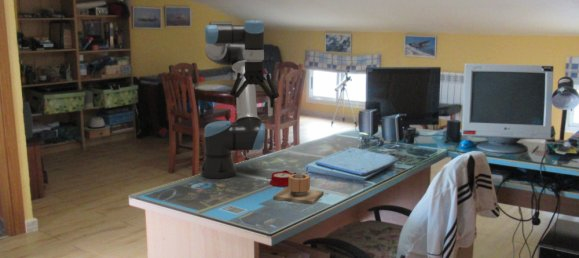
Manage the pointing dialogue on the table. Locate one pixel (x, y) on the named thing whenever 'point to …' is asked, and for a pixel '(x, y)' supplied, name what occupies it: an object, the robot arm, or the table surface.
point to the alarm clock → (280, 178)
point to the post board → (300, 199)
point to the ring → (299, 183)
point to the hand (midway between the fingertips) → (254, 114)
